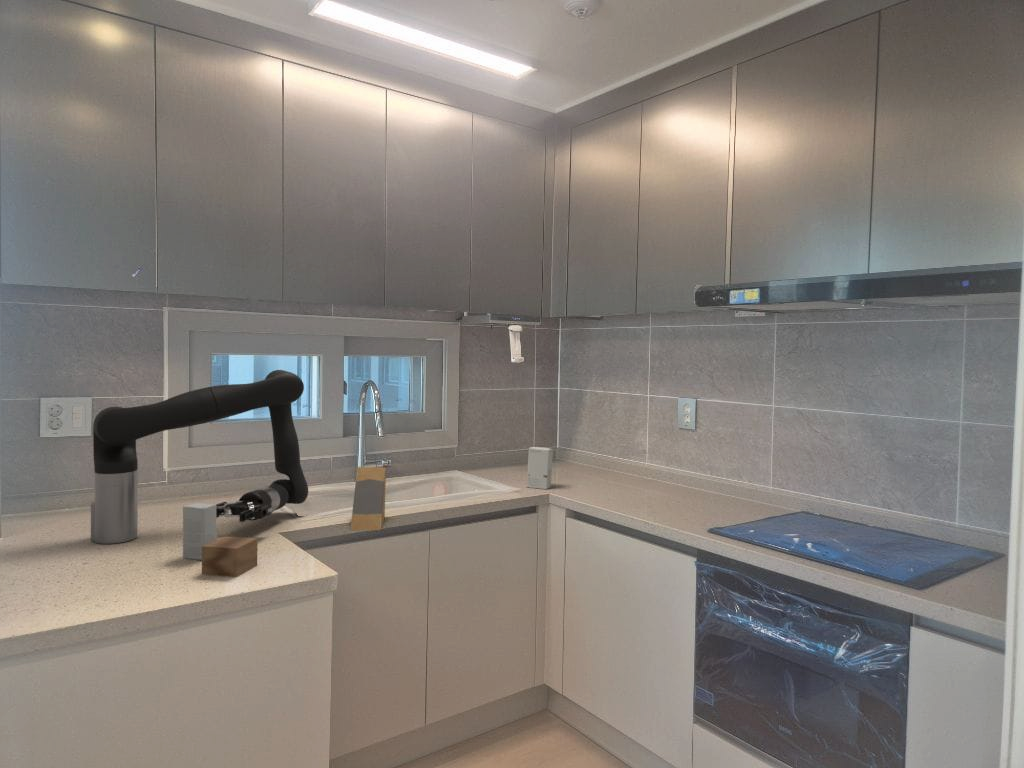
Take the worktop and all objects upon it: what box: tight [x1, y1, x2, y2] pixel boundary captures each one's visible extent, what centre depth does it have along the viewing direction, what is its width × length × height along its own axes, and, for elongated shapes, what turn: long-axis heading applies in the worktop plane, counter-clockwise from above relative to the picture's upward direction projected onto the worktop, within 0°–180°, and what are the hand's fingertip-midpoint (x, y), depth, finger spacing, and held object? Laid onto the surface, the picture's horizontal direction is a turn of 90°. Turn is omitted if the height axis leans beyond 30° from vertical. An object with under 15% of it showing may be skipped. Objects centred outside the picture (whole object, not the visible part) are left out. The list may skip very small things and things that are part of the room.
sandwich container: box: [350, 466, 387, 531], centre depth 181 cm, size 9×15×15 cm, turn 7°
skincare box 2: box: [526, 446, 554, 490], centre depth 239 cm, size 8×6×15 cm
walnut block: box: [201, 535, 258, 578], centre depth 139 cm, size 8×8×6 cm
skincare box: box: [182, 502, 218, 561], centre depth 148 cm, size 6×4×12 cm
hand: (224, 516), depth 157 cm, fingers open, 8 cm apart
